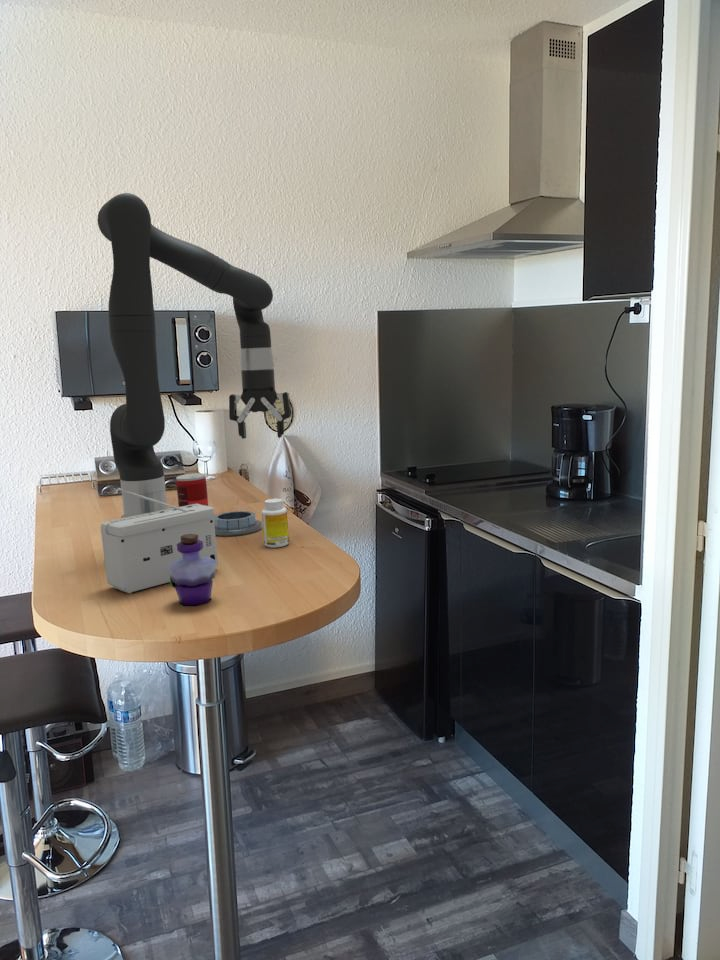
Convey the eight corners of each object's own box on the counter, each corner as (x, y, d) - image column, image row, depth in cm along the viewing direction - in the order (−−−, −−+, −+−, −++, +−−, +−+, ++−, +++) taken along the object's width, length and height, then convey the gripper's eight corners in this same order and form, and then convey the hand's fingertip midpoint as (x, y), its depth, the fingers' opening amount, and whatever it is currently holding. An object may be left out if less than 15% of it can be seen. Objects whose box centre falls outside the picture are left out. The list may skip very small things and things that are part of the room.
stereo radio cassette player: (202, 563, 157) (194, 469, 153) (223, 571, 151) (214, 472, 147) (105, 588, 143) (93, 485, 140) (124, 597, 137) (112, 490, 134)
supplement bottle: (293, 545, 167) (290, 500, 166) (271, 549, 165) (267, 504, 163) (282, 540, 172) (278, 496, 170) (260, 545, 169) (256, 500, 167)
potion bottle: (170, 596, 136) (164, 532, 134) (219, 590, 138) (213, 527, 136) (169, 612, 128) (162, 543, 126) (221, 605, 130) (215, 538, 128)
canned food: (213, 512, 207) (210, 473, 205) (201, 519, 199) (197, 478, 197) (188, 512, 208) (184, 473, 207) (174, 519, 201) (170, 478, 199)
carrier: (242, 538, 176) (241, 523, 176) (197, 534, 182) (196, 520, 181) (272, 525, 188) (271, 510, 187) (229, 522, 193) (228, 508, 193)
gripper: (223, 369, 171) (228, 440, 174) (285, 367, 170) (289, 438, 173) (230, 369, 179) (235, 437, 181) (290, 366, 178) (294, 434, 180)
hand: (262, 437), depth 177 cm, fingers open, 8 cm apart
